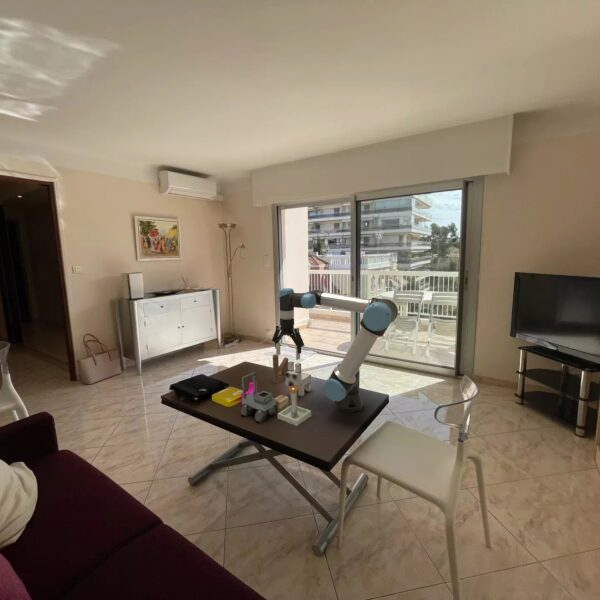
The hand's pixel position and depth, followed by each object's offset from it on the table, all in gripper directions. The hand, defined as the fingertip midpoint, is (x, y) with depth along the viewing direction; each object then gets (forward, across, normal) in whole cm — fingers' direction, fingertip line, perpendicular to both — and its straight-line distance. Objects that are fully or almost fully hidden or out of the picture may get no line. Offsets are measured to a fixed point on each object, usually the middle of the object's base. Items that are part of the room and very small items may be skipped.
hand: (288, 356), depth 170 cm
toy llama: (+27, +3, -14) cm, 31 cm away
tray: (+27, -12, +10) cm, 31 cm away
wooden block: (+27, +25, -22) cm, 42 cm away
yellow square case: (+27, +30, +16) cm, 44 cm away
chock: (+27, 0, +7) cm, 28 cm away
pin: (+26, -12, +10) cm, 30 cm away
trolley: (+27, +5, +18) cm, 33 cm away
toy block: (+27, +20, +9) cm, 35 cm away
